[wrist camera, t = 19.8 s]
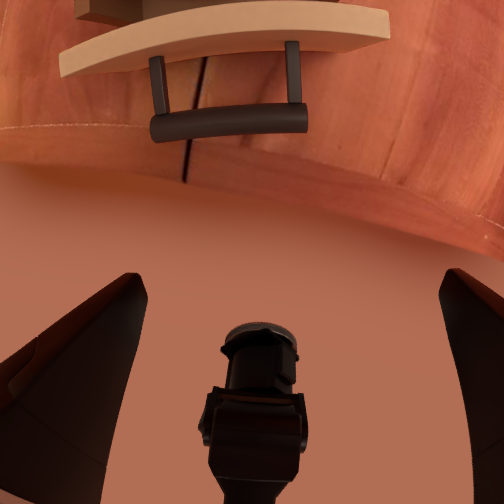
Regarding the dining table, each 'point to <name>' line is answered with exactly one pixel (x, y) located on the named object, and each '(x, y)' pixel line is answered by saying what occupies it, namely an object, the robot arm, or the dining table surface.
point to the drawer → (219, 52)
